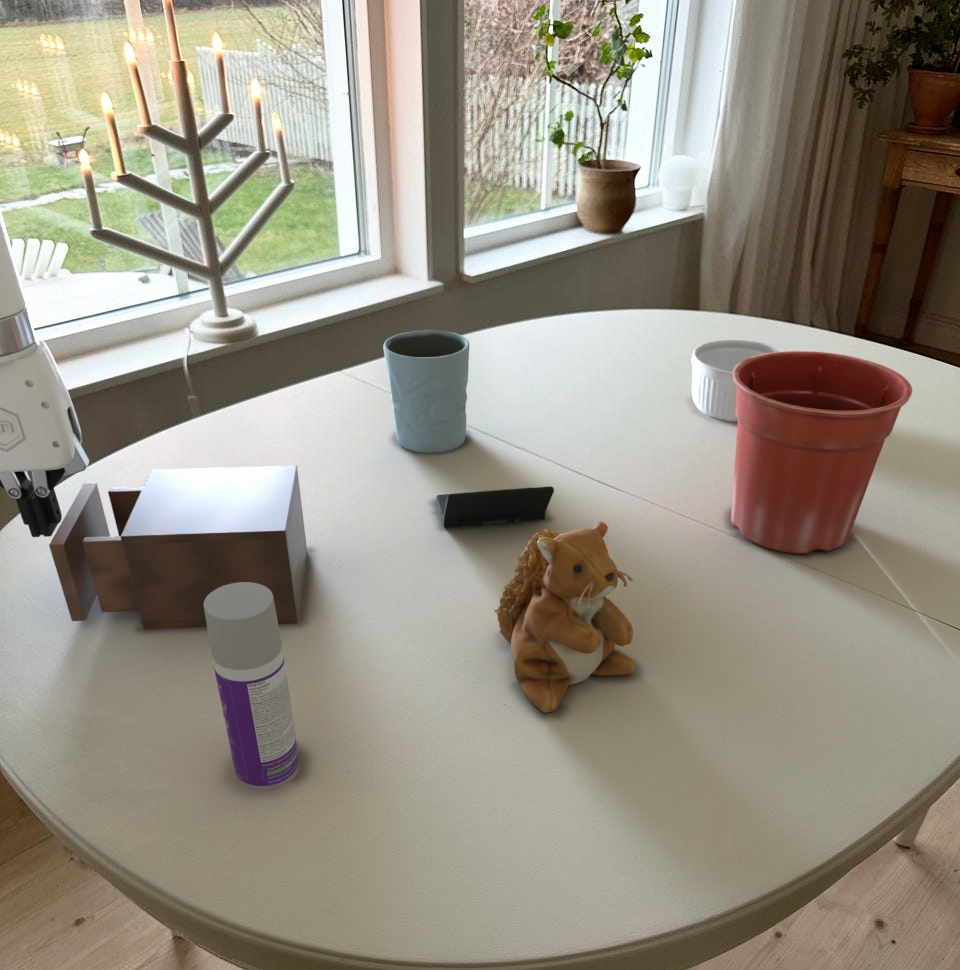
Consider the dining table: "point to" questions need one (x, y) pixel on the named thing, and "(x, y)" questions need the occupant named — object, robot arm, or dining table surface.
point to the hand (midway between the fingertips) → (46, 529)
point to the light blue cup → (428, 388)
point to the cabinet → (215, 540)
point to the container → (252, 684)
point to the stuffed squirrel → (564, 614)
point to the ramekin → (721, 374)
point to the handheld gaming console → (494, 506)
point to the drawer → (95, 553)
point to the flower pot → (808, 444)
